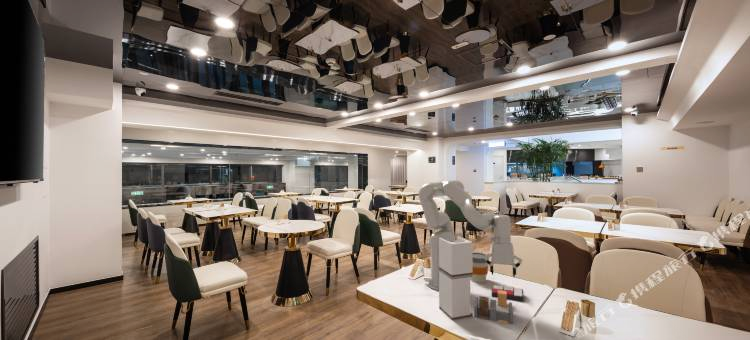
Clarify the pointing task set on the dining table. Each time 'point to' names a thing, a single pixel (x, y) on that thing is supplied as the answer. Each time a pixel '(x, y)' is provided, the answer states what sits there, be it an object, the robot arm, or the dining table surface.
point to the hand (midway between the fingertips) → (503, 274)
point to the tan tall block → (502, 298)
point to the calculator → (509, 292)
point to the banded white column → (455, 277)
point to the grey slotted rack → (495, 313)
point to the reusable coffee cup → (479, 267)
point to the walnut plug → (483, 306)
